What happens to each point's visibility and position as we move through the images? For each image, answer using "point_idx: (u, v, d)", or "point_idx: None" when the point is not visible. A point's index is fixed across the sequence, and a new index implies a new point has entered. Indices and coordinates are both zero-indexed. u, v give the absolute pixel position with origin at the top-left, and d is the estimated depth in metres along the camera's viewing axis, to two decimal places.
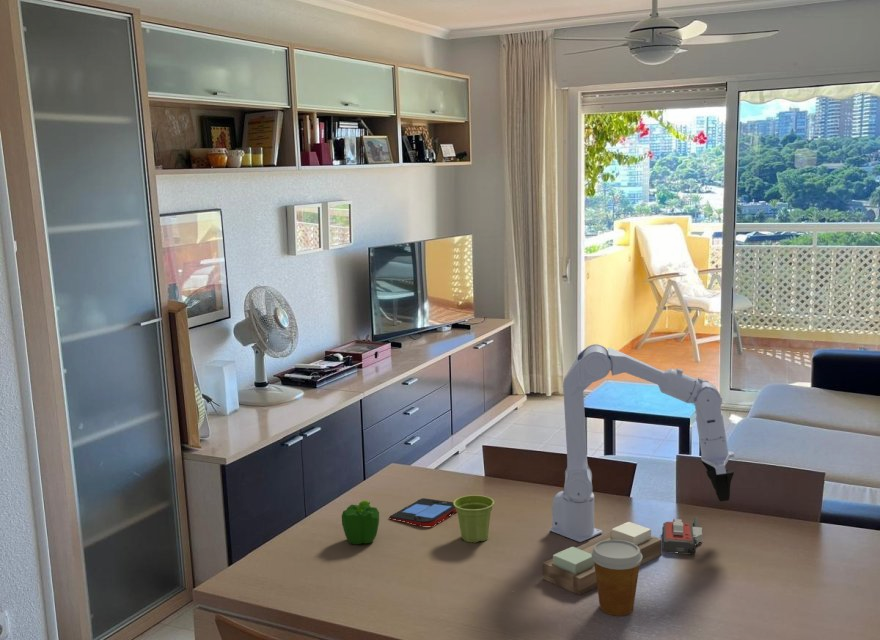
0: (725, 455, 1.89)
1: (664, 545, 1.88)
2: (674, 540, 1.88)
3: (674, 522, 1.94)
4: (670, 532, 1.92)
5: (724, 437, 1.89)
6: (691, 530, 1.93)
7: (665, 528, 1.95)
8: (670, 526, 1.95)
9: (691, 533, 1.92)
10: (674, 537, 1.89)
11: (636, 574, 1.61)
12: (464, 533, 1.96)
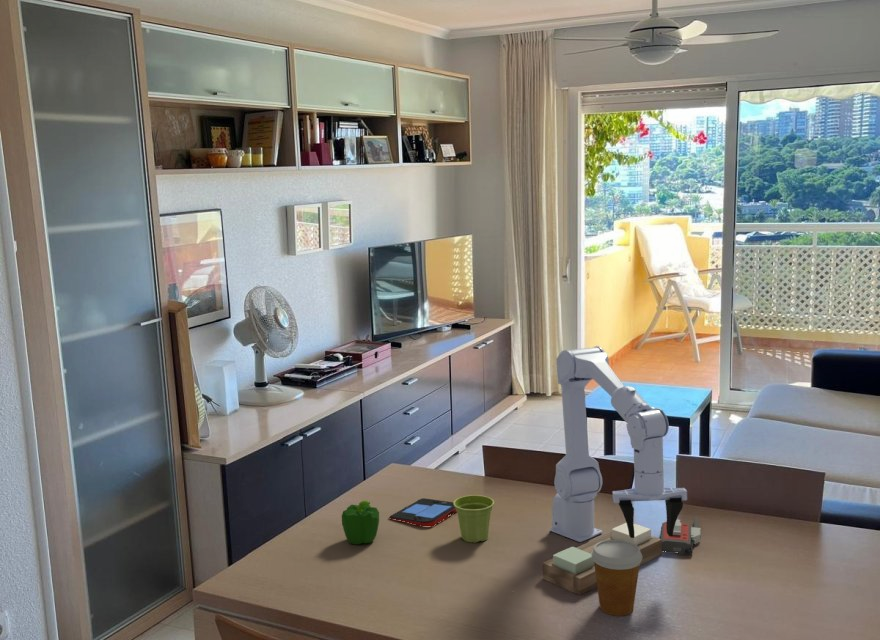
0: (641, 493, 1.71)
1: (661, 544, 1.88)
2: (671, 540, 1.88)
3: None
4: None
5: (644, 474, 1.70)
6: (689, 530, 1.93)
7: (663, 528, 1.95)
8: None
9: (689, 533, 1.92)
10: (671, 537, 1.89)
11: (636, 574, 1.61)
12: (464, 533, 1.96)
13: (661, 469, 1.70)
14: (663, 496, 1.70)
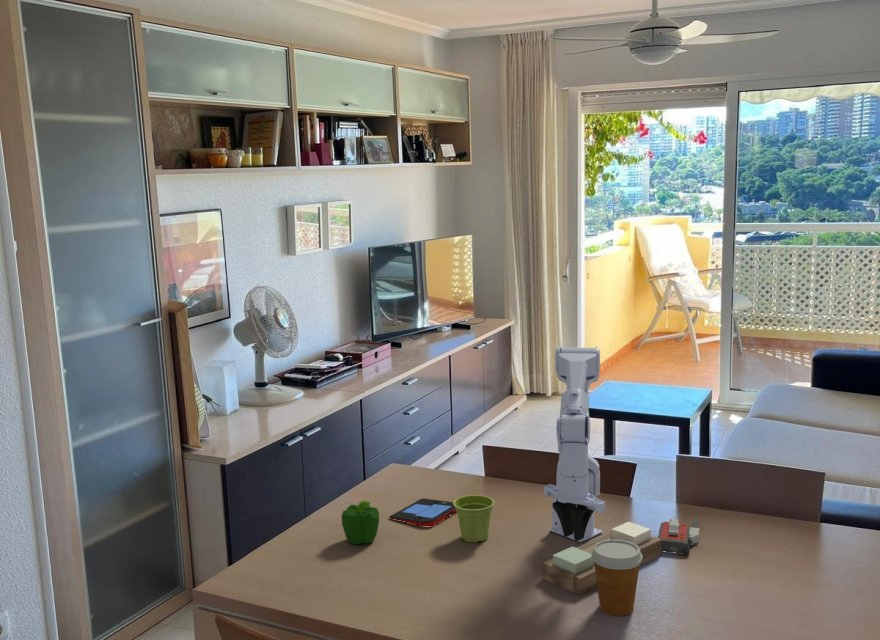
0: (559, 492, 1.73)
1: None
2: (668, 540, 1.88)
3: (670, 522, 1.94)
4: (665, 532, 1.92)
5: (560, 474, 1.72)
6: (687, 530, 1.93)
7: (662, 528, 1.95)
8: (667, 526, 1.95)
9: (687, 533, 1.92)
10: (668, 537, 1.90)
11: (636, 574, 1.61)
12: (464, 533, 1.96)
13: (578, 475, 1.70)
14: (574, 501, 1.70)
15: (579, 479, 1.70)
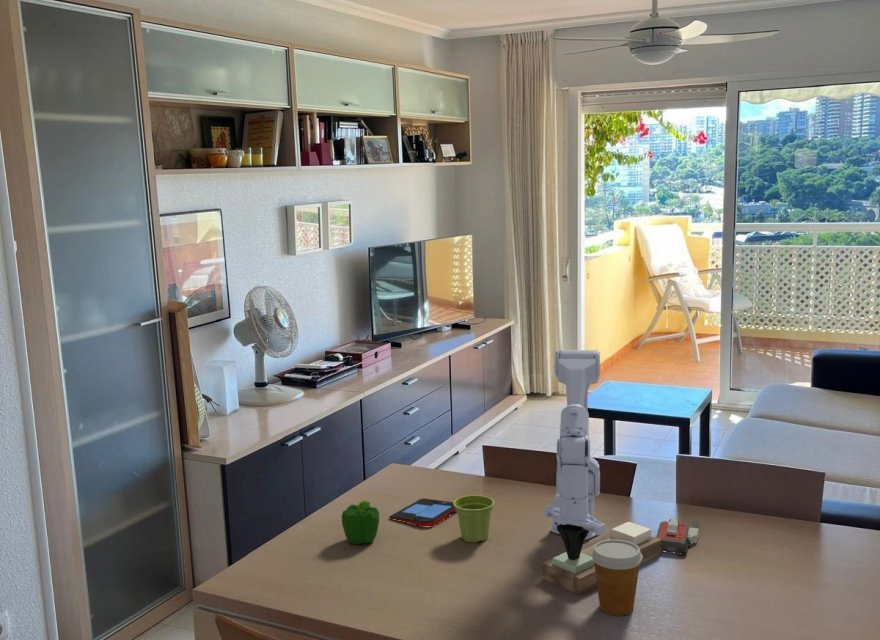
0: (559, 513, 1.74)
1: None
2: (666, 539, 1.88)
3: (669, 522, 1.94)
4: (664, 531, 1.92)
5: (560, 496, 1.73)
6: (686, 531, 1.93)
7: (661, 527, 1.95)
8: (666, 526, 1.96)
9: (685, 533, 1.92)
10: (666, 536, 1.90)
11: (636, 574, 1.61)
12: (464, 533, 1.96)
13: (578, 497, 1.70)
14: (574, 523, 1.71)
15: (579, 501, 1.71)
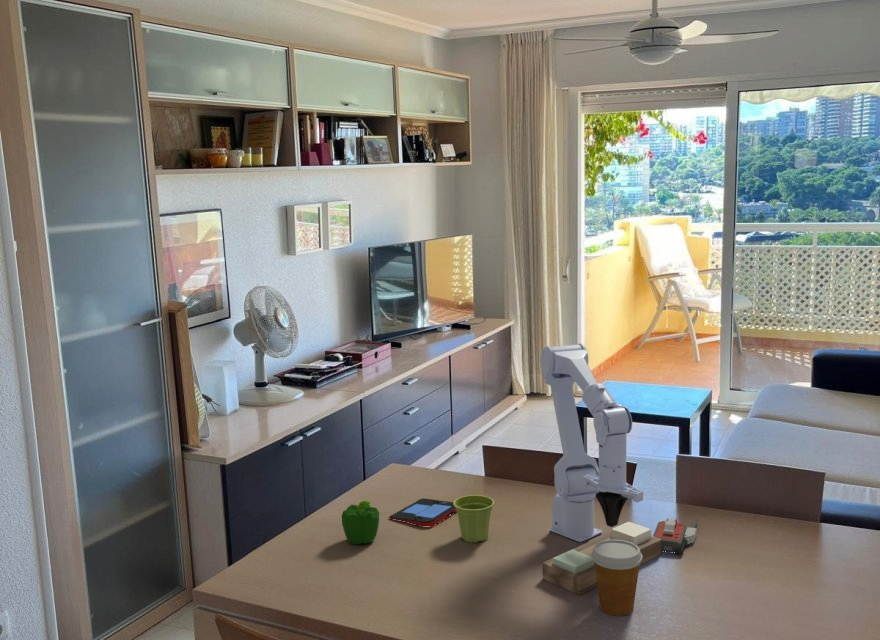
0: (598, 482, 1.82)
1: None
2: (662, 539, 1.88)
3: (667, 521, 1.95)
4: (661, 531, 1.93)
5: (599, 465, 1.80)
6: (683, 530, 1.93)
7: (658, 527, 1.95)
8: (663, 525, 1.96)
9: (682, 533, 1.92)
10: (663, 536, 1.90)
11: (636, 574, 1.61)
12: (464, 533, 1.96)
13: (623, 464, 1.78)
14: (613, 490, 1.78)
15: (618, 469, 1.78)
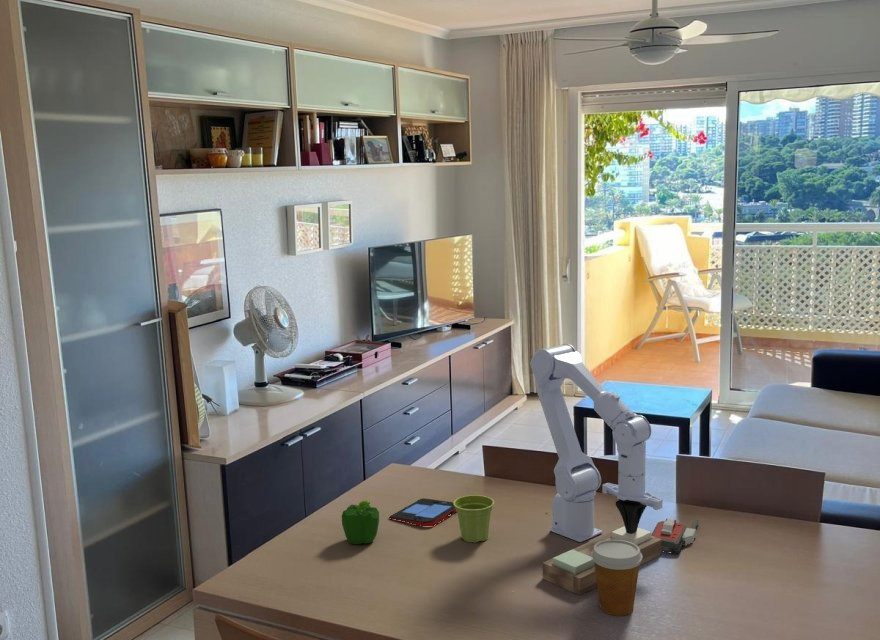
0: (618, 490, 1.86)
1: None
2: None
3: (665, 521, 1.95)
4: (659, 531, 1.93)
5: (619, 474, 1.85)
6: (682, 531, 1.93)
7: (657, 527, 1.96)
8: (662, 525, 1.96)
9: (680, 533, 1.92)
10: (660, 536, 1.90)
11: (636, 574, 1.61)
12: (464, 533, 1.96)
13: (644, 471, 1.84)
14: (633, 499, 1.83)
15: (638, 478, 1.83)
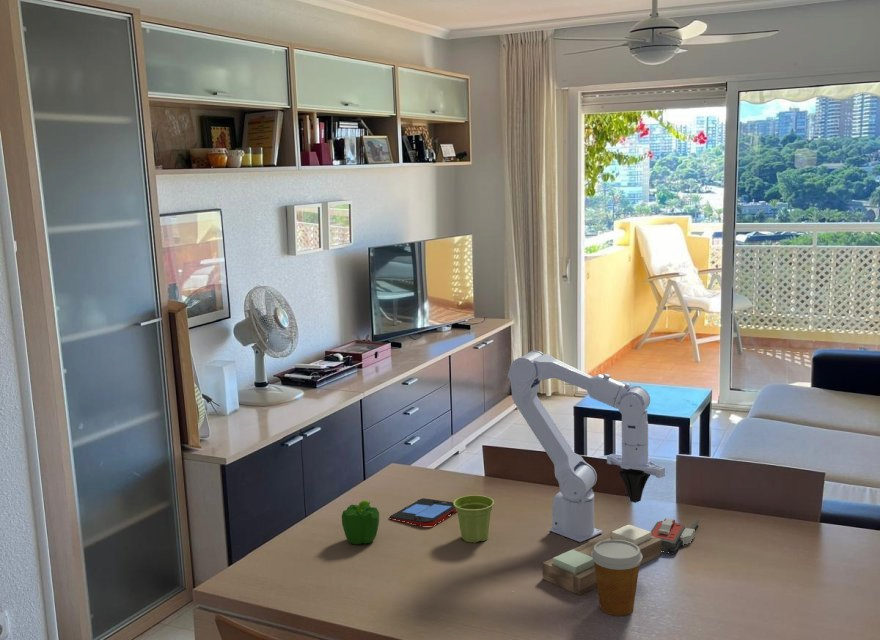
0: (622, 460, 1.91)
1: None
2: None
3: (664, 521, 1.95)
4: (657, 530, 1.93)
5: (622, 444, 1.90)
6: (680, 531, 1.93)
7: (655, 526, 1.96)
8: (661, 525, 1.96)
9: (678, 533, 1.92)
10: (658, 535, 1.90)
11: (636, 574, 1.61)
12: (464, 533, 1.96)
13: None
14: (636, 467, 1.88)
15: (640, 447, 1.87)
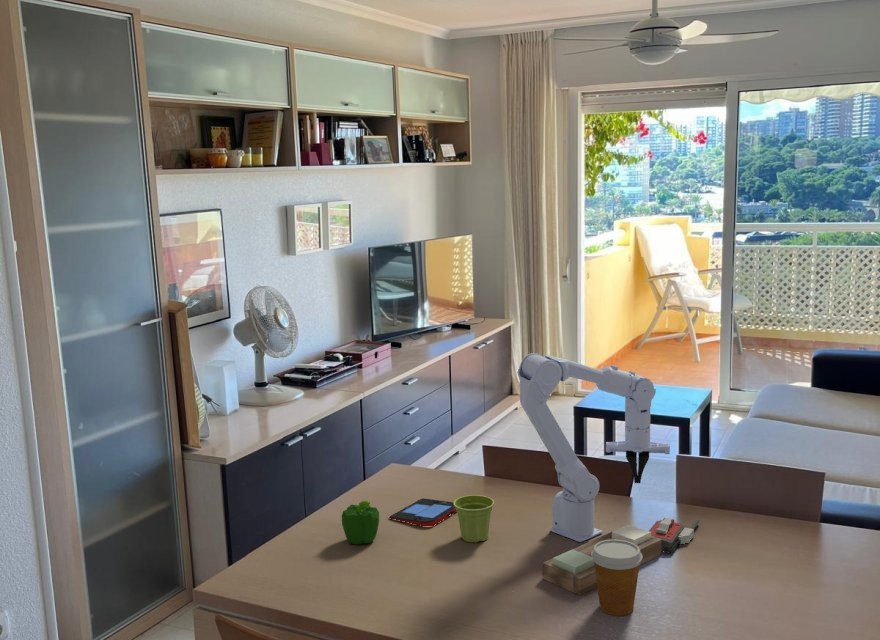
0: (628, 445, 1.99)
1: None
2: None
3: (662, 520, 1.95)
4: (655, 530, 1.93)
5: (631, 429, 1.98)
6: (679, 530, 1.93)
7: (654, 525, 1.96)
8: (660, 524, 1.96)
9: (677, 533, 1.92)
10: (655, 534, 1.91)
11: (636, 574, 1.61)
12: (464, 533, 1.96)
13: None
14: (647, 449, 1.98)
15: (649, 429, 1.99)
